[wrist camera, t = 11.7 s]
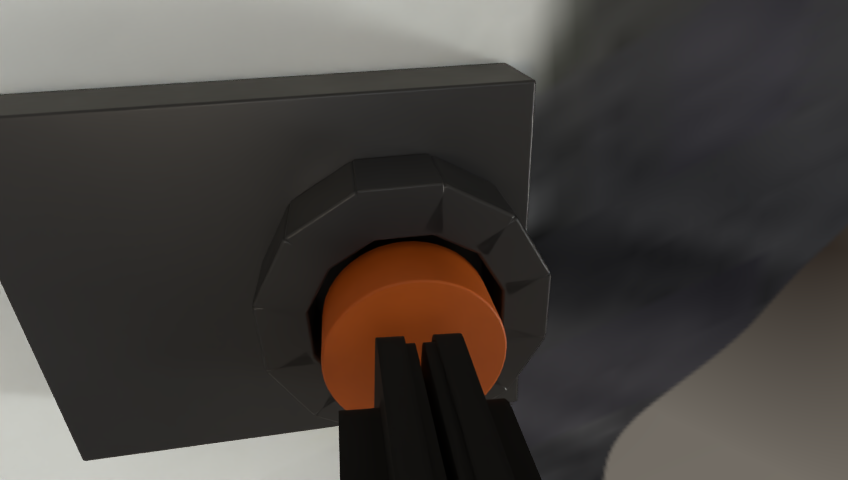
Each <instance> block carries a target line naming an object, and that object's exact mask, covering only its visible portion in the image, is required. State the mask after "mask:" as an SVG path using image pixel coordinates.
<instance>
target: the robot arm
mask: <svg viewBox="0 0 848 480" xmlns="http://www.w3.org/2000/svg"><path fill="white" fill-rule="evenodd" d="M339 452H340V480H541V477H540V475H539V473H538V470H537V468H536V465H535V463H534V461H533V458H532V456H531V453H530V451H529V448H528V446H527V444H526V441H525V439H524V436H523V434H522V432H521V429H520V427H519V424H518V422H517V419H516V417H515V415H514V412H513V410H512V407H511V405H510V404H509V402H508V401H507V400H506V399H505V398H501V399H488V400H486V398H485V395H484V393H483V390H482V387H481V384H480V381H479V379H478V376H477V373H476V370H475V368H474V365H473V362H472V359H471V357H470V354H469V351H468V348H467V346H466V343H465V340H464V337H463V335H462V334H461V333H449V334H434V335H433V336H432V341H431V342H423V344H422V354H421V365H420V361H419V357H418V352H417V348H416V344H415V343H406V342H405V338H404V336H394V337H376V338H375V384H374V408H368V409H355V410H341V411H339Z"/></svg>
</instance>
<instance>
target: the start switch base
mask: <svg viewBox="0 0 848 480" xmlns="http://www.w3.org/2000/svg"><path fill="white" fill-rule="evenodd" d="M535 87H536V82H535V80H533V79H532V78H530V77H528V76H527V75H525V74H523V73H522V72H520V71H518V70H516V69H515V68H513V67H511V66H510V65H508V64H506V63H496V64H480V65H464V66H448V67H432V68H416V69H401V70H385V71H369V72H353V73H337V74H321V75H305V76H289V77H274V78H258V79H242V80H226V81H210V82H194V83H178V84H162V85H146V86H131V87H115V88H99V89H83V90H67V91H51V92H35V93H19V94H4V95H0V281H1V284H2V286H3V288H4V290H5V292H6V294H7V297H8V299H9V301H10V303H11V305H12V307H13V309H14V312H15V314H16V316H17V318H18V320H19V322H20V325H21V327H22V329H23V331H24V333H25V335H26V338H27V340H28V342H29V344H30V346H31V348H32V351H33V353H34V355H35V357H36V359H37V361H38V364H39V366H40V368H41V370H42V372H43V374H44V377H45V379H46V381H47V383H48V385H49V387H50V390H51V392H52V394H53V396H54V398H55V400H56V402H57V405H58V407H59V409H60V411H61V413H62V415H63V418H64V420H65V422H66V424H67V426H68V428H69V431H70V433H71V435H72V437H73V439H74V441H75V444H76V446H77V448H78V450H79V452H80V454H81V457H82V459H83V460H84V461H88V460H95V459H103V458H110V457H117V456H124V455H132V454H139V453H146V452H153V451H161V450H168V449H175V448H182V447H190V446H197V445H204V444H211V443H219V442H226V441H233V440H240V439H248V438H255V437H262V436H269V435H276V434H284V433H291V432H298V431H305V430H313V429H320V428H327V427H334V426H339V411H341V410H345V409H344V408H343V407H341V406H340V405H339V404H338V402H337V401H336V400H335V399H334V398H333V396H332V395H331V393H330V392H329V390H328V388H327V386H326V384H325V381H324V378H323V374H322V367H321V345H322V314H323V305H324V301H325V297H326V295H327V293H328V290H329V288H330V286H331V285H332V283H333V281H334V280H335V278H336V277H337V276H338V275H339V273H340V272H341V271H342V270H343V269H344V268H345V267H346V266H347V265H348V264H349V263H351V262H352V261H353V260H355V259H356V258H357V257H359V256H361V255H362V254H364V253H366V252H368V251H370V250H372V249H375V248H377V247H380V246H383V245H387V244H390V243H396V242H402V241H420V242H428V243H433V244H437V245H440V246H443V247H446V248H448V249H450V250H452V251H454V252H456V253H458V254H459V255H461V256H462V257H464V258H465V259H466V260H467V261H468V262H469V263H471V264H472V266H473V267H474V268H475V269H476V270H477V272H478V273H479V275H480V277H481V278H482V280H483V282H484V284H485V287H486V289H487V291H488V293H489V295H490V297H491V299H492V301H493V304H494V306H495V308H496V310H497V312H498V314H499V316H500V318H501V321H502V323H503V326H504V329H505V333H506V340H507V349H506V357H505V361H504V365H503V368H502V370H501V373H500V375H499V377H498V379H497V380H496V382H495V384H494V385H493V386H492V388H491V389H490V390H489V391H488V393H487V394H486V395H485V398H486V400H488V399H501V398H505V399H506V400H507V401H508V402H515V401H517V391H518V375H519V374H520V372H521V371H522V370H523V368H524V367H525V365H526V364H527V363H528V361H529V360H530V358H531V357H532V356H533V354H534V353H535V351H536V350H537V349H538V347H539V346H540V344H541V343H542V342H543V340H544V338H545V335H546V329H547V318H548V306H549V294H550V282H551V274H550V269H549V268H548V266H547V264H546V263H545V261H544V259H543V258H542V256H541V254H540V253H539V251H538V249H537V248H536V246H535V245H534V243H533V241H532V240H531V238H530V236H529V235H528V233H527V222H528V205H529V188H530V171H531V154H532V138H533V121H534V104H535Z"/></svg>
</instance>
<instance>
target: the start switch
mask: <svg viewBox="0 0 848 480" xmlns="http://www.w3.org/2000/svg"><path fill="white" fill-rule="evenodd" d="M449 333H461V334H462V335H463V337H464V340H465V343H466V346H467V348H468V351H469V354H470V357H471V359H472V362H473V365H474V368H475V370H476V373H477V376H478V379H479V381H480V384H481V387H482V390H483V393H484V395H486V394H487V393H488V391H489V390H490V389H491V388H492V386H493V385H494V384H495V382H496V380H497V379H498V377H499V375H500V373H501V370H502V368H503V365H504V361H505V357H506V349H507V340H506V333H505V329H504V326H503V323H502V321H501V318H500V316H499V314H498V312H497V310H496V308H495V306H494V304H493V301H492V299H491V297H490V295H489V293H488V291H487V289H486V287H485V284H484V282H483V280H482V278H481V277H480V275H479V273H478V272H477V270H476V269H475V268H474V267H473V266H472V264H471V263H469V262H468V261H467V260H466V259H465V258H464V257H462V256H461V255H459V254H458V253H456V252H454V251H452V250H450V249H448V248H446V247H443V246H440V245H437V244H433V243H428V242H420V241H402V242H396V243H390V244H387V245H383V246H380V247H377V248H375V249H372V250H370V251H368V252H366V253H364V254H362V255H361V256H359V257H357V258H356V259H355V260H353V261H352V262H351V263H349V264H348V265H347V266H346V267H345V268H344V269H343V270H342V271H341V272H340V273H339V275H338V276H337V277H336V278H335V280H334V281H333V283H332V285H331V286H330V288H329V290H328V293H327V295H326V297H325V301H324V305H323V314H322V345H321V367H322V374H323V378H324V381H325V384H326V386H327V388H328V390H329V392H330V393H331V395H332V396H333V398H334V399H335V400H336V401H337V402H338V404H339V405H340V406H341V407H343V408H344V409H345V410H355V409H368V408H374V384H375V338H376V337H394V336H404V338H405V342H406V343H415V344H416V348H417V352H418V357H419V361H420V365H421V354H422V344H423V342H431V341H432V336H433V335H434V334H449Z"/></svg>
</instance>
